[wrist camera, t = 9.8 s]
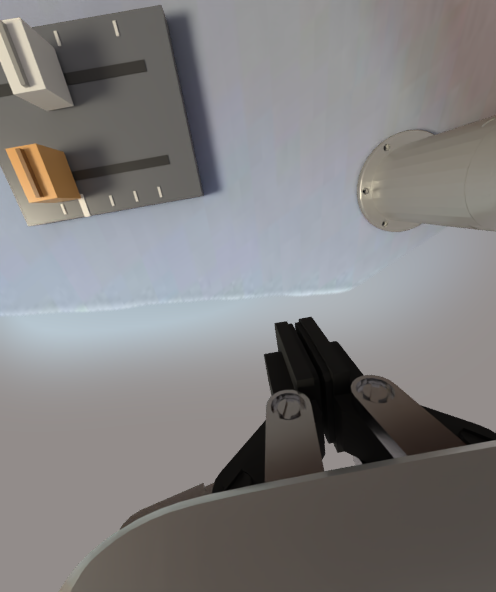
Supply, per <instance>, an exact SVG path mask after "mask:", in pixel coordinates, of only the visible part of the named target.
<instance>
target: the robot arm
mask: <svg viewBox="0 0 496 592" xmlns="http://www.w3.org/2000/svg"><path fill="white" fill-rule="evenodd" d="M384 148H385V149H384ZM363 190H364V193H363ZM357 198H358V204H359V207H360V210H361V212H362V214H363V215H364V217H365V218H366V219H367V220H368V222H369V223H370V224H372V225H373V226H375V227H376V228H379V229H382V230H385V231H390V232H401V231H406V230H410V229H412V228H415V227H417V226H419V225H420V224H432V225H441V226H450V227H459V228H468V229H478V230H486V231H496V115H494V116H491V117H488V118H485V119H482V120H479V121H476V122H473V123H470V124H467V125H464V126H461V127H458V128H455V129H452V130H449V131H446V132H442V133H439V134H436V135H434V134H432V133H429V132H427V131H423V130H407V131H404V132H400V133H398V134H395V135H393V136H391V137H389V138H387V139H386V140H384V141H383V142H381V143H380V144H379V145H378V146H377V147H376V148H375V149H374V150H373V151H372V153H371V154H370V155H369V156H368V158H367V160H366V161H365V163H364V165H363V167H362V170H361V172H360V175H359V179H358V184H357ZM382 223H383V224H382ZM275 330H276V338H277V345H278V352H274V353H268V354H264V357H265V363H266V369H267V375H268V381H269V386H270V390H271V395H272V396H271V397H270V398H269V400H268V402H267V405H266V420H265V422H264V423H263V424H262V425H261V426H260V427H259V429H258V430H257V431H256V432H255V433H254V434H253V436H252V437H251V438H250V439H249V440H248V441H247V442H246V443H245V445H244V446H243V447H242V448H241V449H240V450H239V452H238V453H237V454H236V455H235V456H234V457H233V459H232V460H231V461H230V462H229V463H228V464H227V466H226V467H225V468H224V469H223V470H222V471H221V473H220V474H219V475H218V477H217V478H216V480H215V482H214V483H212V484H210V485H208V486H206V487H205V486H204V483H202V484H200V485H197V486H195V487H193V488H191V489H188V490H186V491H184V492H182V493H179V494H177V495H174V496H172V497H170V498H167V499H165V500H163V501H161V502H158V503H156V504H154V505H151V506H149V507H147V508H144V509H142V510H140V511H138V512H137V513H135V514H134V515H132V516H131V517H130V518H129V519H128V520H127V521H126V522H125V523H124V524H123V525H122V527H121V528H120V530H119V531H118V532H116V533H114V534H113V535H111V536H110V537H109V538H107V539H106V540H105V541H103V542H102V543H101V544H100V545H98V546H97V547H96V548H95V549H94V550H92V551H91V552H90V553H89V554H88V555H87V556H86V557H85V558H84V559H83V560H82V561H81V562H80V563H79V564H78V565H77V567H76V568H75V569H74V570H73V572H72V573H71V574H70V576H69V577H68V578H67V580H66V581H65V583H64V584H63V586H62V587H61V589H60V590H59V592H496V433H494V432H492V431H491V430H489V429H487V428H484V427H482V426H480V425H477V424H474V423H471V422H468V421H466V420H463V419H460V418H457V417H454V416H451V415H448V414H444V413H442V412H439V411H436V410H433V409H430V408H427V407H424V406H421V405H419V404H418V403H417V402H416V401H414V400H413V399H412V398H411V397H410V396H409V395H407V394H406V393H405V392H404V391H403V390H401V389H400V388H399V387H398V386H397V385H396V384H394V383H393V382H391V381H390V380H388V379H386V378H383V377H380V376H375V375H365V376H364V375H363V374H362V373H361V371H360V370H359V369H358V368H357V366H356V365H355V364H354V362H353V361H352V360H351V358H350V357H349V356H348V355H347V353H346V352H345V351H344V350H343V348H342V347H341V346H340V344H339V343H338V342H336V341H334V342H329V341H328V339H327V338H326V336H325V335H324V334H323V332H322V331H321V329H320V328H319V327H318V326H317V324H316V323H315V321H314V320H313V318H312V317H308V318H302V319H299V322H298V323H295V328H294V327H293V325H292V324H288V323H287V322H280V323H275ZM324 434H325V436H326V439H327V441H328V443H334V446H335V448H336V450H337V452H343V451H345V452H347V453H349V454H351V455H353V459H354V462H355V464H356V466H351V467H345V468H340V469H335V470H329V471H324V467H323V462H322V459H323V457H324V455H325V445H324V444H325V441H324Z"/></svg>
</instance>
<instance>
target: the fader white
mask: <svg viewBox="0 0 496 592" xmlns="http://www.w3.org/2000/svg"><path fill="white" fill-rule="evenodd" d="M0 62H1V65H2V67H3V70H4V72H5V75H6V77H7V80H8V82H9V84H10V87H11V89H12V92H13V94H14V95H16V96H18V97H20V98H22V99H24V100H26V101H28V102H30V103H32V104H34V105H36V106H38V107H40V108H42V109H44V110H46V111H49V110H55V109H60V108H66V107H72V106H74V105H73V102H72V99H71V96H70V93H69V90H68V87H67V84H66V81H65V78H64V75H63V72H62V69H61V67H60V64H59V61H58V58H57V55H56V52H55V49H54V47H53V46H52V45H50V44H49V43H48V42H47V41H46V40H45V39H44V38H42V37H41V36H40V35H39V34H38V33H37V32H36V31H35V30H33V29H32V28H31V27H30V26H29V25H28V24H27V23H25V22H24V21H23V20H22V19H21V18H20V17H19V18H14V19H8V20H2V21H1V20H0Z"/></svg>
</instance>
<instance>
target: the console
mask: <svg viewBox="0 0 496 592" xmlns="http://www.w3.org/2000/svg"><path fill="white" fill-rule="evenodd" d="M32 29H33V30H35V31H36V32H37V33H38V34H39V35H40V36H41V37H42V38H44V39H45V40H46V41H47V42H48V43H49V44H50V45H52V46H53V47H54V49H55V52H56V55H57V58H58V61H59V64H60V67H61V69H62V72H63V75H64V78H65V81H66V84H67V87H68V90H69V93H70V96H71V99H72V102H73V105H74V106H72V107H66V108H60V109H55V110H49V111H46V110H44V109H42V108H40V107H38V106H36V105H34V104H32V103H30V102H28V101H26V100H24V99H22V98H20V97H18V96H16V95H14V94H13V92H12V89H11V87H10V84H9V82H8V80H7V77H6V75H5V72H4V70H3V67H2V65H1V62H0V166H1V168H2V170H3V172H4V174H5V176H6V179H7V181H8V183H9V185H10V187H11V189H12V192H13V194H14V196H15V198H16V200H17V202H18V205H19V207H20V209H21V211H22V213H23V216H24V218H25V220H26V222H27V224H28V226H35V225H43V224H48V223H54V222H60V221H65V220H71V219H76V218H82V217H88V216H93V215H99V214H104V213H110V212H116V211H121V210H127V209H132V208H138V207H144V206H149V205H155V204H161V203H166V202H172V201H177V200H183V199H189V198H194V197H200V196H204V194H203V189H202V184H201V179H200V175H199V170H198V165H197V161H196V156H195V151H194V146H193V142H192V137H191V132H190V128H189V123H188V118H187V114H186V109H185V104H184V99H183V95H182V90H181V85H180V81H179V76H178V71H177V66H176V62H175V57H174V52H173V48H172V43H171V38H170V34H169V29H168V24H167V20H166V17H165V14H164V11H163V8H162V6H161V5H158V6H152V7H146V8H141V9H135V10H129V11H124V12H118V13H112V14H106V15H101V16H95V17H89V18H83V19H78V20H72V21H66V22H60V23H55V24H49V25H43V26H37V27H32ZM35 143H36V144H39V145H42V146H46V147H49V148H52V149H56V150H59V151H62V152H64V154H65V156H66V159H67V162H68V164H69V167H70V170H71V172H72V175H73V178H74V180H75V183H76V186H77V188H78V191H79V194H80V196H81V199H75V200H70V201H64V202H58V203H29V201H28V199H27V197H26V195H25V193H24V190H23V188H22V186H21V184H20V181H19V179H18V177H17V175H16V172H15V170H14V168H13V166H12V163H11V161H10V159H9V157H8V154H7V152H6V150H5V149H7V148H13V147H18V146H24V145H30V144H35Z"/></svg>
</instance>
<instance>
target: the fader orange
mask: <svg viewBox="0 0 496 592" xmlns="http://www.w3.org/2000/svg"><path fill="white" fill-rule="evenodd" d="M5 150H6V152H7V154H8V157H9V159H10V161H11V163H12V166H13V168H14V170H15V172H16V175H17V177H18V179H19V181H20V184H21V186H22V188H23V190H24V193H25V195H26V197H27V199H28V201H29V203H58V202H64V201H70V200H75V199H81V196H80V194H79V191H78V188H77V186H76V183H75V180H74V178H73V175H72V172H71V170H70V167H69V164H68V162H67V159H66V156H65V154H64V152H62V151H59V150H56V149H52V148H49V147H46V146H42V145H39V144H36V143H35V144H30V145H24V146H18V147H13V148H7V149H5Z"/></svg>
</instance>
